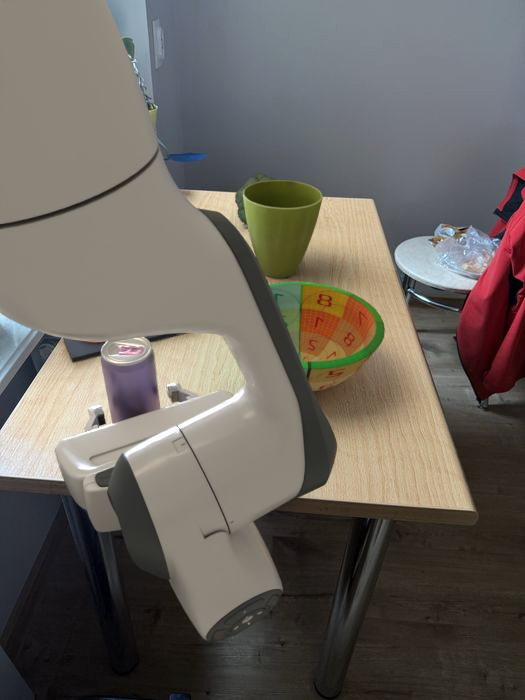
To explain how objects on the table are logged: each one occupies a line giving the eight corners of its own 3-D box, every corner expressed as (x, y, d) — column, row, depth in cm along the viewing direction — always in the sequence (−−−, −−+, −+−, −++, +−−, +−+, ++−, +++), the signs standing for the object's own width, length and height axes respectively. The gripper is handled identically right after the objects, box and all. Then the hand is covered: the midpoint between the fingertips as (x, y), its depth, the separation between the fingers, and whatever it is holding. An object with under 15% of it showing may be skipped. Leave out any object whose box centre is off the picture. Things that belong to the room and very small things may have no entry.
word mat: (72, 362, 81) (69, 351, 80) (56, 324, 90) (54, 313, 89) (215, 325, 91) (215, 314, 90) (189, 293, 99) (188, 283, 98)
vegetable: (284, 200, 135) (304, 192, 120) (256, 241, 134) (273, 239, 120) (246, 170, 131) (261, 158, 117) (217, 213, 131) (229, 206, 116)
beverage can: (159, 461, 66) (147, 365, 57) (111, 459, 66) (92, 363, 57) (167, 427, 71) (157, 334, 62) (122, 425, 71) (106, 332, 62)
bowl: (243, 325, 91) (243, 273, 85) (374, 341, 88) (384, 289, 82) (210, 413, 73) (208, 354, 67) (374, 436, 70) (386, 377, 64)
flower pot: (323, 286, 103) (331, 206, 94) (247, 290, 101) (248, 209, 92) (306, 252, 115) (312, 179, 106) (238, 255, 113) (238, 180, 104)
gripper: (267, 425, 56) (214, 354, 65) (68, 496, 47) (40, 404, 57) (265, 466, 59) (215, 393, 69) (80, 538, 51) (52, 445, 61)
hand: (134, 398), depth 63 cm, fingers open, 8 cm apart
